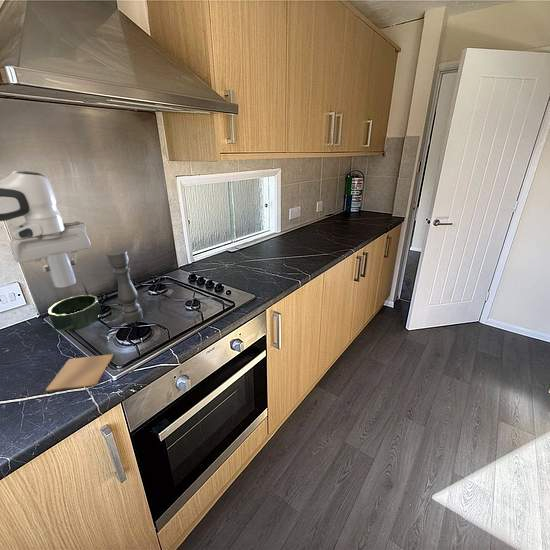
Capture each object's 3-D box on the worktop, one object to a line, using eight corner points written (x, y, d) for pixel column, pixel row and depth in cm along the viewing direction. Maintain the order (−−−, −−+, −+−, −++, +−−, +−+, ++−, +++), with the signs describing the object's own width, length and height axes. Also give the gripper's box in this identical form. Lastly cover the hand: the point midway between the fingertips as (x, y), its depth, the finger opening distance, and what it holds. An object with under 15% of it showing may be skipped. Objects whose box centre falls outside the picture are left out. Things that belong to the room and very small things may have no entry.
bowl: (45, 332, 97) (38, 317, 95) (67, 311, 111) (62, 296, 108) (91, 328, 99) (86, 312, 97) (108, 307, 112) (104, 293, 110)
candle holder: (120, 323, 101) (101, 255, 91) (131, 314, 107) (114, 249, 97) (136, 324, 100) (119, 255, 90) (146, 315, 106) (131, 249, 96)
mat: (45, 391, 73) (45, 390, 73) (69, 360, 84) (69, 358, 84) (96, 385, 74) (96, 383, 74) (113, 355, 85) (113, 353, 85)
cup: (50, 288, 95) (39, 256, 91) (60, 280, 100) (50, 250, 96) (71, 286, 96) (60, 255, 91) (79, 279, 101) (70, 248, 97)
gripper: (80, 219, 99) (91, 257, 105) (2, 231, 85) (19, 275, 91) (87, 221, 95) (98, 261, 101) (6, 235, 81) (24, 280, 87)
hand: (60, 267), depth 96 cm, fingers closed on cup, 6 cm apart
